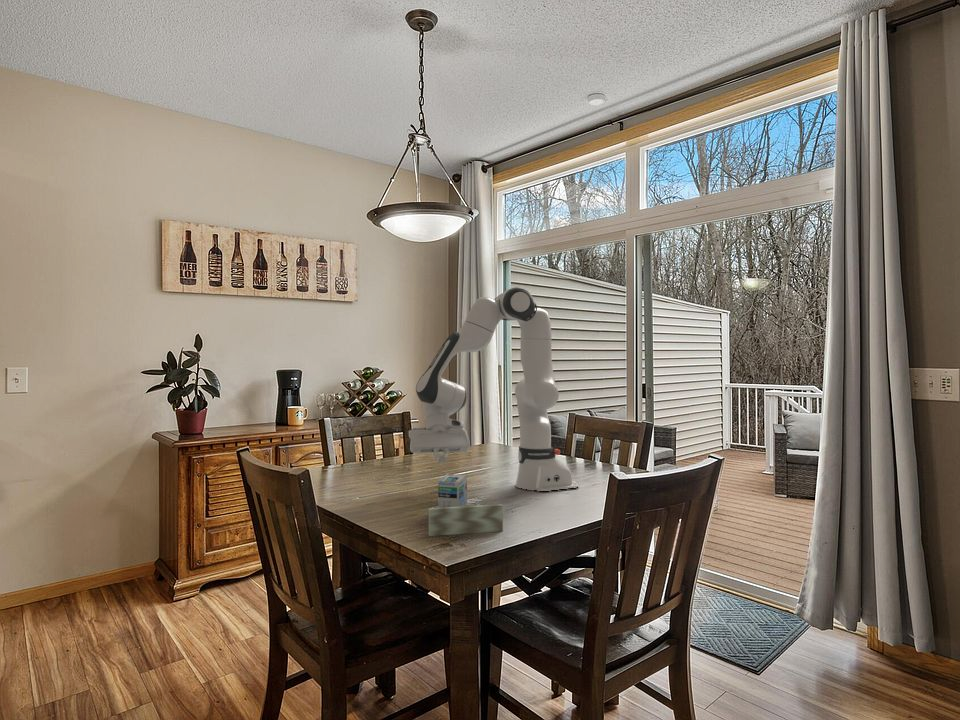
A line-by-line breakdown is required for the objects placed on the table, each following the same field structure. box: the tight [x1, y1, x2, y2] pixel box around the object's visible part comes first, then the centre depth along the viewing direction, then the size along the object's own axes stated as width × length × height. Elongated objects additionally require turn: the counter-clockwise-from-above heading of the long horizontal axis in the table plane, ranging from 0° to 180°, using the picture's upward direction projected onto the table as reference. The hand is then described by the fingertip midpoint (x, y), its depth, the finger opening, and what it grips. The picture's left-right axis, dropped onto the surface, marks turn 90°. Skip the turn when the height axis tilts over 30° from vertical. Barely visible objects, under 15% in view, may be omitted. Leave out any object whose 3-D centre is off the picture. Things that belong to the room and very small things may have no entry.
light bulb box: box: [437, 473, 468, 508], centre depth 174 cm, size 11×7×11 cm, turn 168°
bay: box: [428, 502, 504, 537], centre depth 162 cm, size 20×14×7 cm
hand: (441, 461), depth 192 cm, fingers closed
